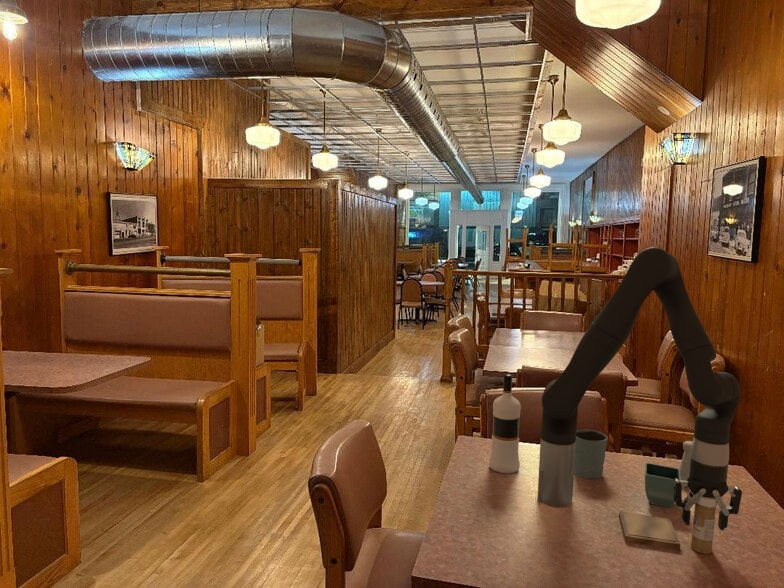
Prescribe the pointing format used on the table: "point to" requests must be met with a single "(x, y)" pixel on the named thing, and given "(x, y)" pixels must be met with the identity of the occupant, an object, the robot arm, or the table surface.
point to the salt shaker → (686, 461)
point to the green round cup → (589, 453)
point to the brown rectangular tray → (648, 530)
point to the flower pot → (660, 484)
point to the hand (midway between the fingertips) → (703, 525)
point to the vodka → (505, 431)
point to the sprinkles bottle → (703, 525)
